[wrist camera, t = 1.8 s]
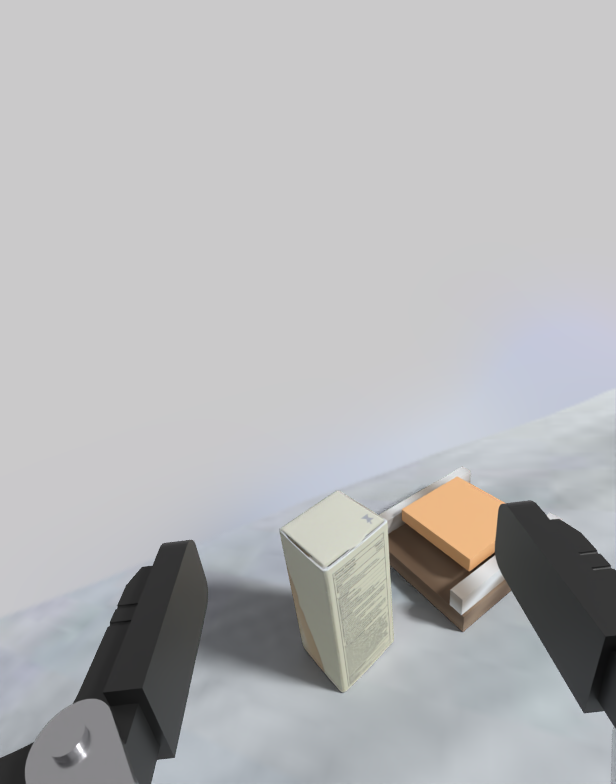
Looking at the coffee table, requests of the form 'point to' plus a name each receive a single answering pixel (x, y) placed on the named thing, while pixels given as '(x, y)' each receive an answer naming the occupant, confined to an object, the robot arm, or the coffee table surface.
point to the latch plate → (457, 521)
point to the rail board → (443, 566)
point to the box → (340, 585)
